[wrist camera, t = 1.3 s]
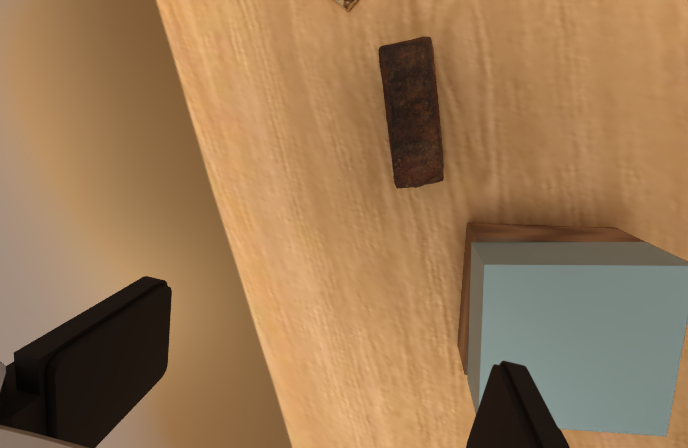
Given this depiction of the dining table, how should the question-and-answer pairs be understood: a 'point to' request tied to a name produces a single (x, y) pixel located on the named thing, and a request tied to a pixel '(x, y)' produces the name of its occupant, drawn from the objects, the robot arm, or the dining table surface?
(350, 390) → the dining table surface
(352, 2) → the shard
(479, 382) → the tower top
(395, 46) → the brick
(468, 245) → the tower base
